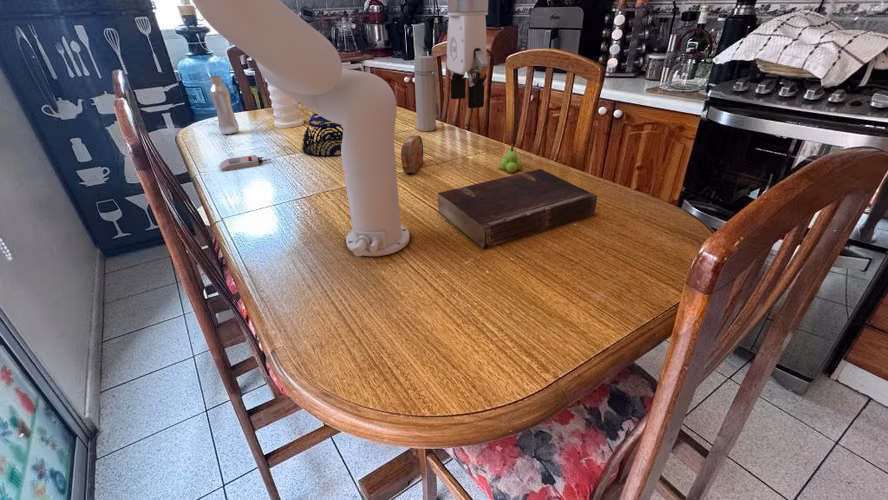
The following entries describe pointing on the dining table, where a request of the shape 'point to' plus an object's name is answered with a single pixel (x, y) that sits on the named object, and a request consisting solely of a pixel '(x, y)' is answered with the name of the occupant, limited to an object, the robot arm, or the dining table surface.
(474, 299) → the dining table surface
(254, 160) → the moisture meter
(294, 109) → the decorative container
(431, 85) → the water bottle
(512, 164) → the grapes
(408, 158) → the tin
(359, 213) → the robot arm
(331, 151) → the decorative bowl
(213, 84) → the plastic bottle
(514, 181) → the hardback book
